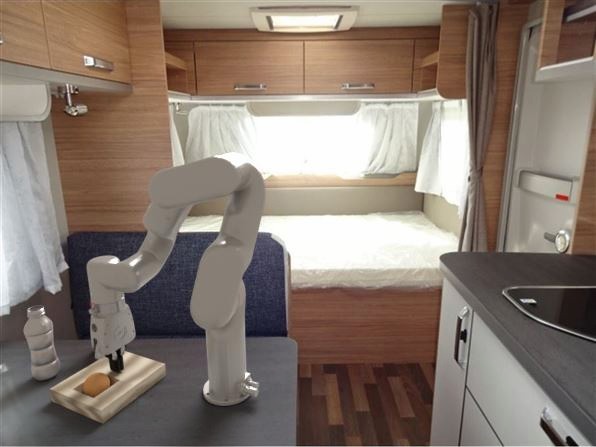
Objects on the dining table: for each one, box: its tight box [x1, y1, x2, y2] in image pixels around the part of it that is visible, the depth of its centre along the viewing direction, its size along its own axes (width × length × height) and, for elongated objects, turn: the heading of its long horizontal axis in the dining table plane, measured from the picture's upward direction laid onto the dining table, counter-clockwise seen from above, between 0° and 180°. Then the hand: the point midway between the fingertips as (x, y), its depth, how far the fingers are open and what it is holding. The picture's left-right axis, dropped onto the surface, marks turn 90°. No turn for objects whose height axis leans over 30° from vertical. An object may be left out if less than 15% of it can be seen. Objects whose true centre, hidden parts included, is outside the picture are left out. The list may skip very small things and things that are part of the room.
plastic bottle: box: [23, 304, 61, 381], centre depth 105 cm, size 6×7×20 cm
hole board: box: [49, 350, 167, 424], centre depth 102 cm, size 18×20×4 cm
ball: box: [83, 372, 110, 398], centre depth 99 cm, size 6×6×6 cm
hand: (117, 369), depth 104 cm, fingers closed
